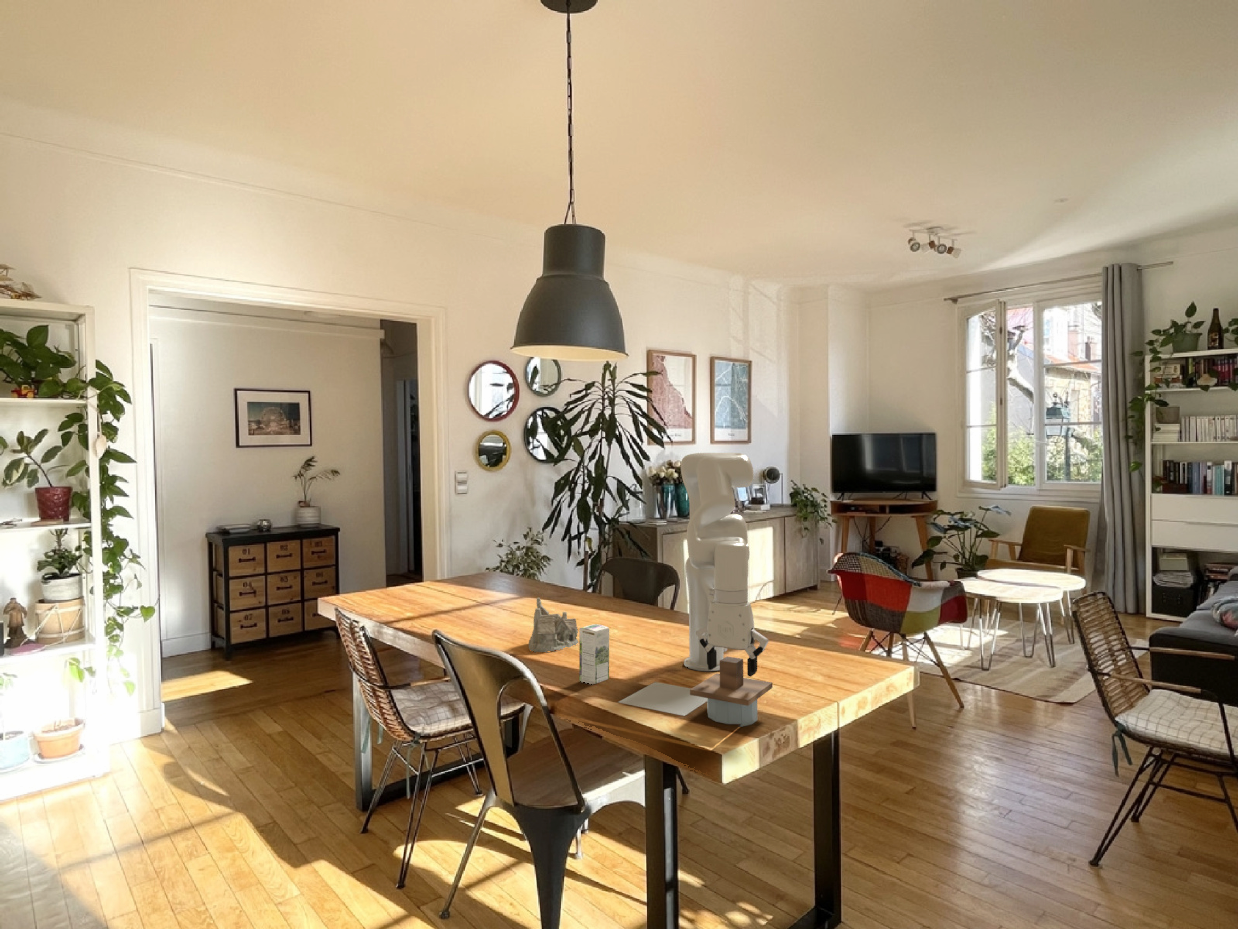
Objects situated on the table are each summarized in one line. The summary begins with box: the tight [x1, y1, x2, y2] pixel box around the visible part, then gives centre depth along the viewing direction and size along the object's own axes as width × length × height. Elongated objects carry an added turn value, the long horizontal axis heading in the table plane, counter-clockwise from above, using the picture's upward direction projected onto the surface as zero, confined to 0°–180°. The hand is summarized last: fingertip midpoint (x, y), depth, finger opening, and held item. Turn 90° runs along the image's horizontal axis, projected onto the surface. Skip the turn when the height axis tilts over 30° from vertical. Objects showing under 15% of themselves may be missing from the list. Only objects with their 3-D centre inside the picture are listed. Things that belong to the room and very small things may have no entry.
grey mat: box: [617, 681, 707, 717], centre depth 183 cm, size 18×18×1 cm
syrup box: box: [578, 623, 610, 685], centre depth 198 cm, size 6×6×14 cm
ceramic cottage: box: [528, 597, 579, 653], centre depth 235 cm, size 16×16×15 cm
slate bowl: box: [706, 698, 758, 728], centre depth 171 cm, size 11×11×6 cm
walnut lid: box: [690, 656, 773, 706], centre depth 170 cm, size 14×14×7 cm
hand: (731, 671), depth 170 cm, fingers open, 9 cm apart
